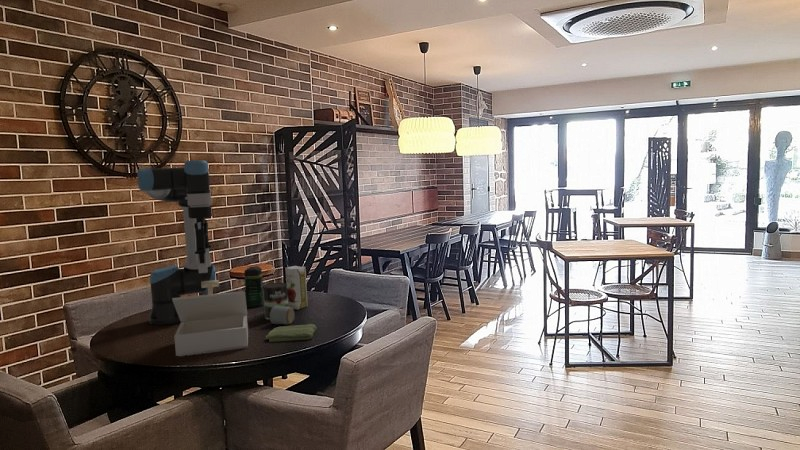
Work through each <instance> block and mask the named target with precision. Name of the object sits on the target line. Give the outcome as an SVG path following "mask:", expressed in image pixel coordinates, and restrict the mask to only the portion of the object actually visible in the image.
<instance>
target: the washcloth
mask: <svg viewBox="0 0 800 450" xmlns="http://www.w3.org/2000/svg"><path fill="white" fill-rule="evenodd" d="M316 331H317V326H316V325H315V324H313V323H307V324H297V325H296V324H295V325H284V326H278V327H275V328H273V329H272V330H270V331H269V332H268V334H267V335H265V340H269V343H273V342H275V343H277V342H291V341H292V342H293V341H306V340H307V341H309V340H311V339H313V337H314V333H315V332H316Z"/></svg>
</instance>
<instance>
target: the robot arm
mask: <svg viewBox="0 0 800 450" xmlns="http://www.w3.org/2000/svg"><path fill="white" fill-rule="evenodd" d="M208 163H209V162H208V161H207V160H205V159H204V160H203V159H201V160H199V159H195V160H194V159H193V160H192V159H191V160H186V161H185V162H184V163H183V164H184V167H163V168H149V167H148V168H147V167H146V168H140V169H137V185H138V190H140V191H142V192H143V191H144V192H145V194H146V195H147V196H148V197H150V199H151V198H152V199H154V200H156V201H161V202H169V203H170V202H172V203H174V202H178V206H179V207H180V208H181V209H182V212H183V213H182V215H183V224H184V225H183V227H184V239H185V251H186V261H185V262H184V264H183V268H180V267H179V265H169V266H166V267H161V268H157V269H154V270H152V272H150V274H149V281H150V282H149V284H150V293H151V304H152V305H151V309H150V312H149V316H148V319H149V322H148V323H149V324H150V325H152V324H153V325H152V326H167V325H172V324H177V323H181V322H182V321H180V319H179V316H178V314H177V311H176V308H175V306H174V303H173V301H172V298H179V297H182V296H185V295H186V296H187V295H192V294H193V295H194V294H202V293H203V294H204V293H208V287H207V288H202V287H201V282H202V281H213V280H217V279H216V277H217V276H216V272H217V271H216V270H217V269H216V266H215V265H213V263H212V261H211V255H210V249H211V248H212V244H210V241H209V240H210V239H209V227H208V226H209V224H208V221H207V218H212V217H213V209H212V206H211V205H212V195H211V194H212V193H211V185H210V169H209V164H208ZM214 289H215V287H213V290H214ZM166 324H167V325H166Z"/></svg>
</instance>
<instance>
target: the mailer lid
mask: <svg viewBox="0 0 800 450" xmlns="http://www.w3.org/2000/svg"><path fill="white" fill-rule="evenodd" d="M201 287H202V288H207V287H208V292H207V294H201V295H199V294H198V295H190V296H181V297H179V298H172V301H173V303H174V306H175V308H176V311H177V314H178V316H179V319H180V321H181V322H186V321H195V320H204V319H213V318H222V317H231V316H240V315H248V309H247V305H246V290H242V291H231V292H222V293H214V289H213V287H214V288H217V287H220V280H219V279H216V280H213V281H202V282H201Z"/></svg>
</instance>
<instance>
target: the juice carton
mask: <svg viewBox="0 0 800 450" xmlns="http://www.w3.org/2000/svg"><path fill="white" fill-rule="evenodd" d="M285 282H286V284H287V297H288V307H291V308H293V310H301V309H304V308H308V305H309V304H308V291H307V290H308V289H307V272H306V266H297V265H292V266H289V267H285Z"/></svg>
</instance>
